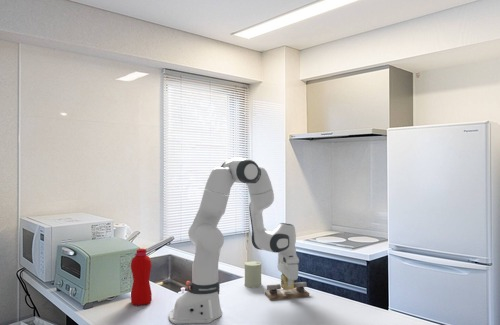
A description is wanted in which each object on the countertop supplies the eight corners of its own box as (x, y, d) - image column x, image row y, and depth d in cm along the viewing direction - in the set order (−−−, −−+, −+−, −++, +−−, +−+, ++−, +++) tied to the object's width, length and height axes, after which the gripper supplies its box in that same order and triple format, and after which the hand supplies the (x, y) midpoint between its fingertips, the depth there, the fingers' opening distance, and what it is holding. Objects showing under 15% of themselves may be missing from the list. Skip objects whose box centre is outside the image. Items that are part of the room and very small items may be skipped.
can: (261, 287, 201) (261, 264, 201) (244, 287, 201) (244, 264, 201) (261, 282, 210) (261, 260, 210) (244, 282, 210) (244, 260, 210)
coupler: (284, 289, 186) (283, 277, 186) (281, 286, 190) (280, 274, 191) (293, 288, 187) (293, 276, 187) (290, 285, 192) (290, 273, 192)
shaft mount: (270, 300, 182) (270, 288, 182) (264, 294, 191) (264, 282, 191) (309, 296, 187) (309, 284, 187) (302, 290, 196) (302, 279, 196)
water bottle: (127, 300, 182) (126, 247, 182) (150, 298, 186) (150, 246, 186) (127, 307, 173) (127, 252, 173) (152, 304, 177) (152, 250, 177)
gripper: (274, 251, 198) (274, 278, 198) (287, 261, 178) (288, 291, 178) (285, 250, 200) (286, 277, 200) (300, 260, 180) (300, 290, 180)
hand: (287, 284), depth 189 cm, fingers closed on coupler, 4 cm apart
